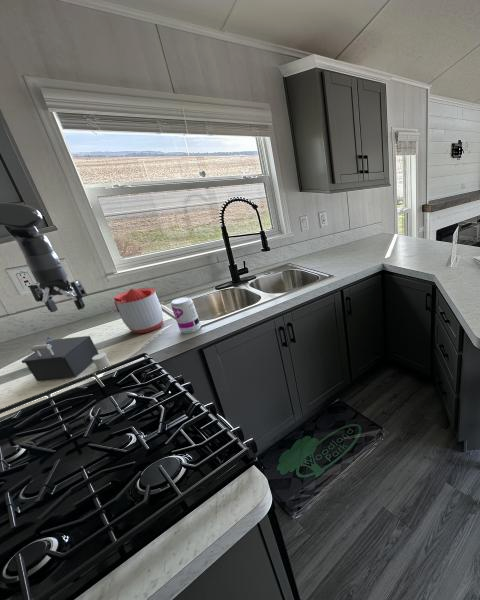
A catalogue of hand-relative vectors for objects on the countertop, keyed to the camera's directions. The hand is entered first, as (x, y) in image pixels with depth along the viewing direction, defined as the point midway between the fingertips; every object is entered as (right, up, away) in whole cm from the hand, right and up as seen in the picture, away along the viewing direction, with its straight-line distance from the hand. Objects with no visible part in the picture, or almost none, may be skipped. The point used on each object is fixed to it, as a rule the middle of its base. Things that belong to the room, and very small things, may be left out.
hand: (68, 309), depth 115 cm
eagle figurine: (-22, -17, +17) cm, 33 cm away
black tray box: (-10, -23, +10) cm, 27 cm away
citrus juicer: (-1, -10, +37) cm, 38 cm away
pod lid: (-10, -15, +6) cm, 19 cm away
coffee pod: (+3, -22, +10) cm, 25 cm away
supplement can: (+21, -10, +35) cm, 42 cm away
